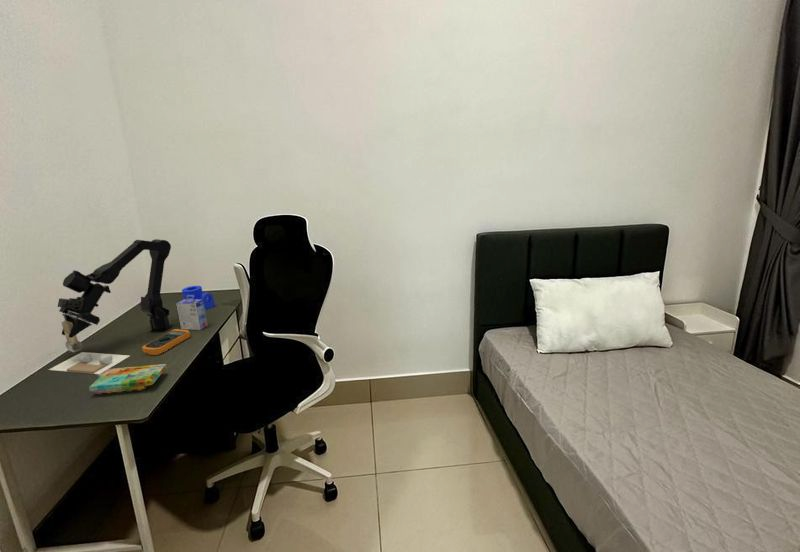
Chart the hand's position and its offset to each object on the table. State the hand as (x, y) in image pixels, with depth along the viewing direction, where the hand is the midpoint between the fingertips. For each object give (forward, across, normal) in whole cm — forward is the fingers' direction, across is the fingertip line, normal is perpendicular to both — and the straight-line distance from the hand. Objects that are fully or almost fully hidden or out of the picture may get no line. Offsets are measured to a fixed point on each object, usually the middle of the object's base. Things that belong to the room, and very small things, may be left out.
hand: (66, 336), depth 172 cm
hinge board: (+6, +7, +10) cm, 14 cm away
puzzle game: (+7, +36, +10) cm, 38 cm away
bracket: (-35, -11, +52) cm, 64 cm away
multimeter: (-10, +18, +27) cm, 34 cm away
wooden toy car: (+3, 0, +5) cm, 6 cm away
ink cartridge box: (-22, +13, +38) cm, 46 cm away
